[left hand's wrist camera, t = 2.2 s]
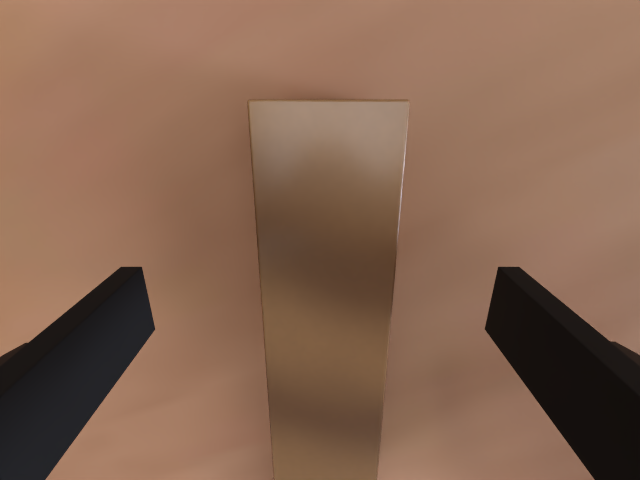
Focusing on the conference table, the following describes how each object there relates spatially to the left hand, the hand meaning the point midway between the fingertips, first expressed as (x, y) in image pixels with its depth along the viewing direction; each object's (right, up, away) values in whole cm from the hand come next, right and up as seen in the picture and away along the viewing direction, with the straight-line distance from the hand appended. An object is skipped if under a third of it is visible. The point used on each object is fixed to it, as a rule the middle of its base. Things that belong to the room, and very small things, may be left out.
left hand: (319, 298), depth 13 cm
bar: (0, -26, +19) cm, 32 cm away
